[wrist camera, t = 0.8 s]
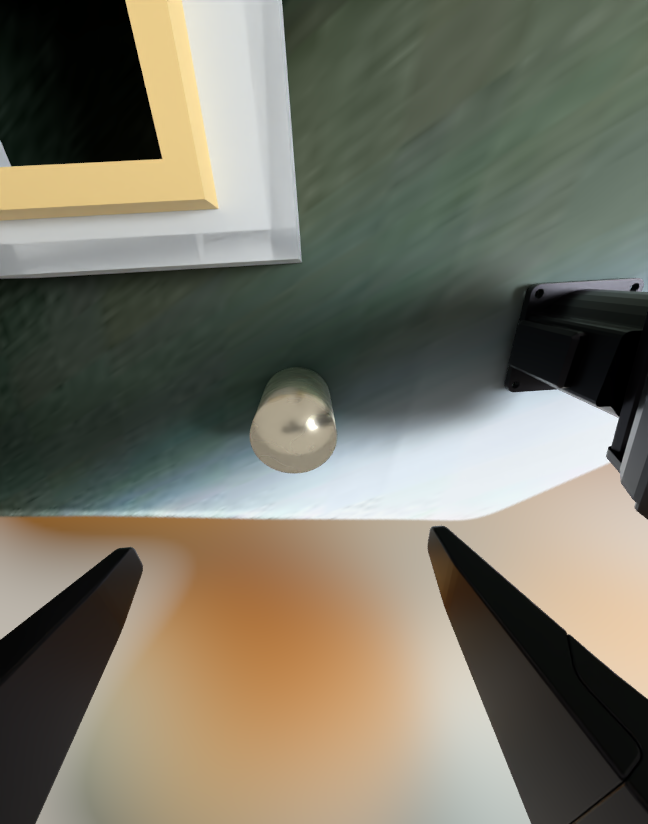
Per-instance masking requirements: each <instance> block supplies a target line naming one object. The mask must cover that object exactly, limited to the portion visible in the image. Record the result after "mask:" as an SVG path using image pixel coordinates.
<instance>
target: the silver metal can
mask: <svg viewBox="0 0 648 824" xmlns="http://www.w3.org/2000/svg"><path fill="white" fill-rule="evenodd" d="M250 442H251V446H252V448H253V451H254V452H255V454H256V455H257V457H258V458H259V459H260V460H261V461H262V462H263V463H264V464H266V465H267V466H269V467H271V468H273V469H275V470H277V471H281V472H285V473H303V472H308V471H311V470H313V469H315V468H317V467H319V466H321V465H322V464H323V463H325V462H326V461H327V460H328V459H329V457H330V456H331V455H332V453H333V451H334V449H335V446H336V442H337V431H336V425H335V419H334V414H333V408H332V402H331V397H330V392H329V388H328V386H327V384H326V382H325V381H324V380H323V379H322V378H321V377H320V376H319V375H318V374H317V373H315V372H313V371H311V370H309V369H306V368H300V367H292V368H287V369H284V370H282V371H280V372H278V373H276V374H275V375H274V376H273V377H272V378H271V379H270V380H269V382H268V383H267V385H266V388H265V390H264V393H263V396H262V398H261V401H260V404H259V406H258V409H257V412H256V414H255V417H254V420H253V422H252V425H251V429H250Z"/></svg>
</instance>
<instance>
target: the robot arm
mask: <svg viewBox="0 0 648 824" xmlns="http://www.w3.org/2000/svg"><path fill="white" fill-rule="evenodd" d="M631 286H632V288H631V290H630V287H631ZM643 286H644V282H643V280H642V279H640V278H624V279H608V280H591V281H575V282H558V283H541V284H534V285H532V286H531V287H530V288H529V289H528V290H527V292H526V296H525V300H524V304H523V308H522V312H521V317H520V321H519V324H518V326H517V330H516V335H515V339H514V343H513V347H512V351H511V356H510V360H509V367H508V371H507V375H506V379H505V383H504V386H505V388H506V389H507V390H509V391H511V392H524V391H539V390H553V389H558V390H560V391H563V392H565V393H567V394H569V395H571V396H573V397H575V398H577V399H580V400H582V401H584V402H586V403H588V404H590V405H592V406H595V407H597V408H599V409H601V410H603V411H605V412H607V413H609V414H612V415H614V416H616V417H618V418H619V420H618V424H617V427H616V431H615V435H614V439H613V442H612V446H610V447H609V448H608V451H607V455H606V457H607V459H608V460H609V461H610V462H611V463H612V464H613V466H614V467H615V468H616V469H617V470H618V472H619V473H620V477H621V484H622V485H623V486H624V487H625V489H626V491H627V492H628V493H629V495H630V496H631V498H632V499H633V500H634V501H635V502H636V503H635V509H636V510H637V511H638V512H639V513H640V514H641V515H643V516H644V517H645V518H647V519H648V292H641V291H642V289H643ZM537 290H539V294H538V296H536V297H535V293H536V291H537ZM514 382H516V383H515V385H514V386H512V384H513V383H514ZM428 553H429V556H430V560H431V563H432V566H433V570H434V573H435V577H436V580H437V584H438V587H439V590H440V594H441V597H442V600H443V604H444V607H445V609H446V612H447V615H448V617H449V620H450V622H451V625H452V627H453V630H454V632H455V635H456V637H457V640H458V642H459V645H460V647H461V650H462V652H463V655H464V657H465V660H466V662H467V665H468V667H469V670H470V672H471V675H472V677H473V680H474V682H475V684H476V687H477V690H478V692H479V695H480V697H481V700H482V702H483V705H484V707H485V709H486V712H487V714H488V717H489V719H490V722H491V725H492V727H493V729H494V732H495V734H496V737H497V739H498V742H499V744H500V747H501V749H502V752H503V754H504V757H505V759H506V762H507V764H508V767H509V769H510V772H511V774H512V777H513V779H514V782H515V784H516V787H517V789H518V792H519V794H520V797H521V799H522V802H523V804H524V807H525V809H526V812H527V814H528V817H529V819H530V821H531V824H648V699H647V698H646V697H644V696H643V695H642V694H640V693H639V692H638V691H637V690H636V689H634V688H633V687H632V686H631V685H629V684H628V683H627V682H626V681H624V680H623V679H622V678H620V677H619V676H618V675H617V674H615V673H614V672H613V671H612V670H611V669H610V668H608V667H607V666H606V665H605V664H604V663H602V662H601V661H600V660H599V659H598V658H597V657H595V656H594V655H593V654H592V653H591V652H589V651H588V650H587V649H586V648H585V647H584V646H582V645H581V644H580V643H579V642H578V641H577V640H576V639H574V638H573V637H572V636H571V635H569V634H568V635H567V633H566V631H565V630H564V629H563V628H562V627H560V626H559V625H558V624H557V623H556V622H555V621H554V620H552V619H551V618H550V617H549V616H548V615H547V614H546V613H544V612H543V611H542V610H541V609H540V608H539V607H538V606H536V605H535V604H534V603H533V602H532V601H531V600H530V599H528V598H527V597H526V596H525V595H524V594H523V593H521V592H520V591H519V590H518V589H517V588H516V587H515V586H513V585H512V584H511V583H510V582H509V581H507V580H506V579H505V578H504V577H503V576H502V575H501V574H500V573H499V572H497V571H496V570H495V569H494V568H493V567H492V566H490V565H489V564H488V563H487V562H486V561H485V560H484V559H482V558H481V557H480V556H479V555H478V554H477V553H476V552H474V551H473V550H472V549H471V548H470V547H469V546H467V545H466V544H465V543H464V542H463V541H462V540H461V539H459V538H458V537H457V536H456V535H455V534H454V533H453V532H451V531H450V530H449V529H448V528H447V527H445V526H433V527H431V529H430V533H429V539H428ZM142 571H143V565H142V563H141V561H140V559H139V557H138V555H137V553H136V551H135V549H134V548H131V547H128V548H119V549H117V550H115V551H114V552H112V553H111V554H110V555H108V556H107V557H106V558H105V559H103V560H102V561H101V562H100V563H98V564H97V565H96V566H94V567H93V568H92V569H91V570H89V571H88V572H87V573H85V574H84V575H83V576H82V577H80V578H79V579H78V580H76V581H75V582H74V583H73V584H71V585H70V586H69V587H67V588H66V589H65V590H64V591H62V592H61V593H60V594H59V595H57V596H56V597H55V598H53V599H52V600H51V601H50V602H48V603H47V604H46V605H44V606H43V607H42V608H41V609H40V610H38V611H37V612H36V613H34V614H33V615H32V616H31V617H29V618H28V619H27V620H25V621H24V622H23V623H22V624H20V625H19V626H18V627H16V628H15V629H14V630H12V631H11V632H10V633H9V634H7V635H6V636H5V637H4V638H2V639H1V640H0V824H35V823H36V821H37V819H38V817H39V814H40V812H41V810H42V808H43V805H44V803H45V801H46V799H47V797H48V794H49V792H50V790H51V788H52V786H53V783H54V781H55V779H56V777H57V774H58V772H59V770H60V768H61V765H62V763H63V761H64V759H65V757H66V754H67V752H68V750H69V748H70V745H71V743H72V741H73V739H74V736H75V734H76V732H77V729H78V727H79V725H80V723H81V721H82V718H83V716H84V714H85V712H86V710H87V708H88V705H89V703H90V700H91V698H92V696H93V694H94V692H95V690H96V687H97V685H98V683H99V681H100V678H101V676H102V674H103V672H104V669H105V667H106V665H107V663H108V660H109V658H110V656H111V654H112V652H113V650H114V647H115V645H116V643H117V641H118V638H119V636H120V634H121V631H122V629H123V626H124V623H125V621H126V618H127V615H128V612H129V609H130V606H131V604H132V601H133V598H134V595H135V592H136V589H137V586H138V584H139V580H140V578H141V575H142Z"/></svg>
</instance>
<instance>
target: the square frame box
mask: <svg viewBox="0 0 648 824" xmlns="http://www.w3.org/2000/svg"><path fill="white" fill-rule="evenodd" d="M125 1H126V5H127V10H128V14H129V18H130V22H131V27H132V31H133V35H134V40H135V44H136V48H137V52H138V57H139V61H140V65H141V69H142V74H143V78H144V82H145V87H146V91H147V95H148V99H149V104H150V108H151V112H152V116H153V121H154V125H155V129H156V134H157V138H158V142H159V146H160V151H161V155H162V159H154V160H134V161H114V162H94V163H74V164H54V165H34V166H14V167H11V165H10V163H9V160H8V158H7V155H6V153H5V151H4V148H3V146H2V143H1V141H0V279H9V278H45V277H63V276H80V275H97V274H115V273H132V272H149V271H167V270H184V269H201V268H219V267H236V266H253V265H271V264H288V263H302V257H301V244H300V231H299V218H298V205H297V192H296V179H295V166H294V153H293V140H292V127H291V114H290V101H289V88H288V75H287V62H286V49H285V36H284V23H283V9H282V0H125Z"/></svg>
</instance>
